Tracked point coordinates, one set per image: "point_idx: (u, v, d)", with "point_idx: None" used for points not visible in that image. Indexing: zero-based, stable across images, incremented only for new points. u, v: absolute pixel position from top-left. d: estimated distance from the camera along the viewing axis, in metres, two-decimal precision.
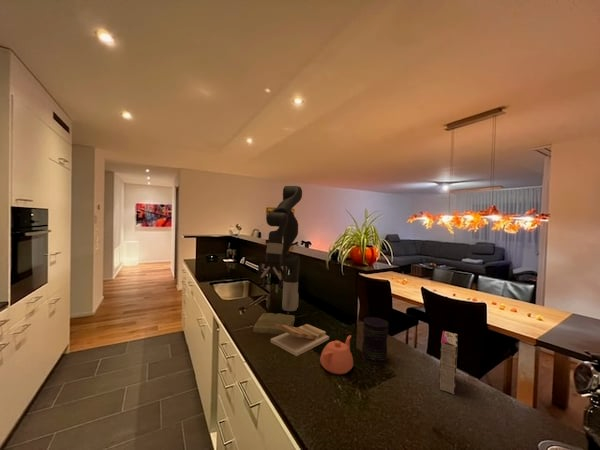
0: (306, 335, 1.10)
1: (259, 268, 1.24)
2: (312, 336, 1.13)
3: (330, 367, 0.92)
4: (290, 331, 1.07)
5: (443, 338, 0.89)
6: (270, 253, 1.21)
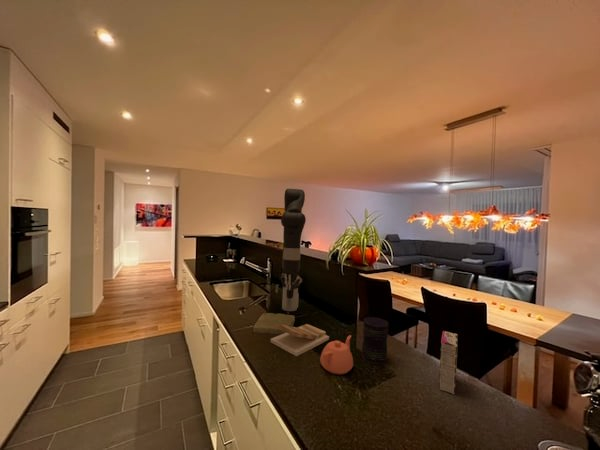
0: (306, 335, 1.10)
1: (281, 279, 1.13)
2: (312, 336, 1.13)
3: (330, 367, 0.92)
4: (290, 331, 1.07)
5: (443, 338, 0.89)
6: (284, 259, 1.09)
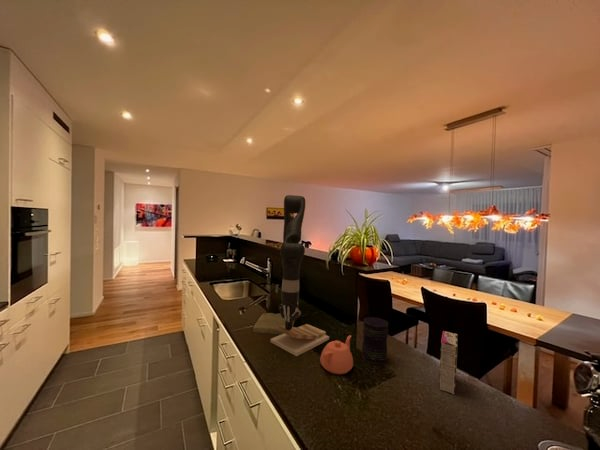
0: (306, 336, 1.10)
1: (280, 310, 1.12)
2: (312, 336, 1.13)
3: (330, 367, 0.92)
4: (290, 333, 1.07)
5: (443, 338, 0.89)
6: (283, 291, 1.08)
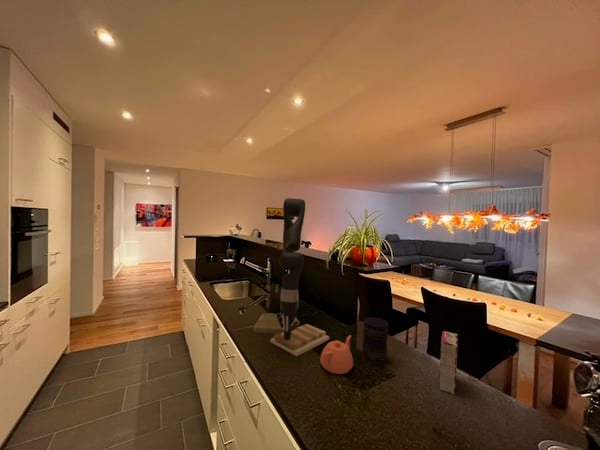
0: (305, 341, 1.10)
1: (278, 319, 1.12)
2: (312, 338, 1.13)
3: (330, 367, 0.92)
4: (288, 344, 1.06)
5: (443, 338, 0.89)
6: (282, 301, 1.07)
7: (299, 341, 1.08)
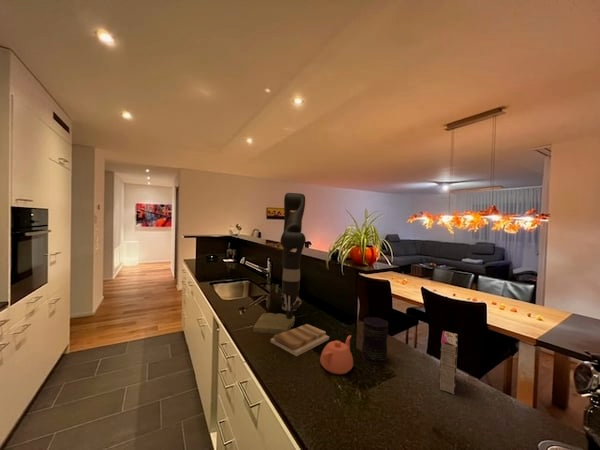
0: (305, 341, 1.10)
1: (280, 299, 1.12)
2: (312, 338, 1.13)
3: (330, 367, 0.92)
4: (288, 344, 1.06)
5: (443, 338, 0.89)
6: (284, 280, 1.08)
7: (299, 341, 1.08)
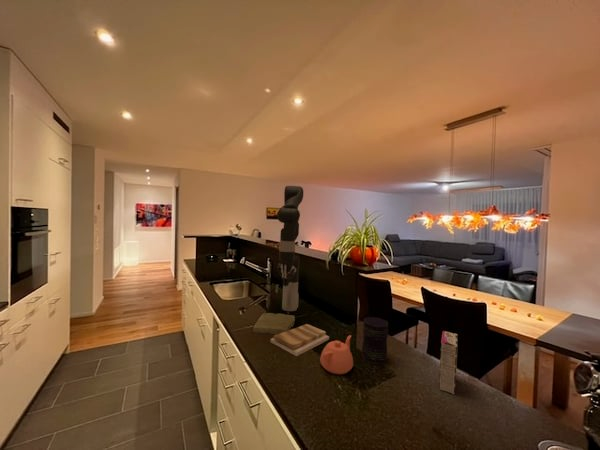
0: (305, 341, 1.10)
1: (278, 269, 1.25)
2: (312, 338, 1.13)
3: (330, 367, 0.92)
4: (288, 344, 1.06)
5: (443, 338, 0.89)
6: (280, 251, 1.20)
7: (299, 341, 1.08)
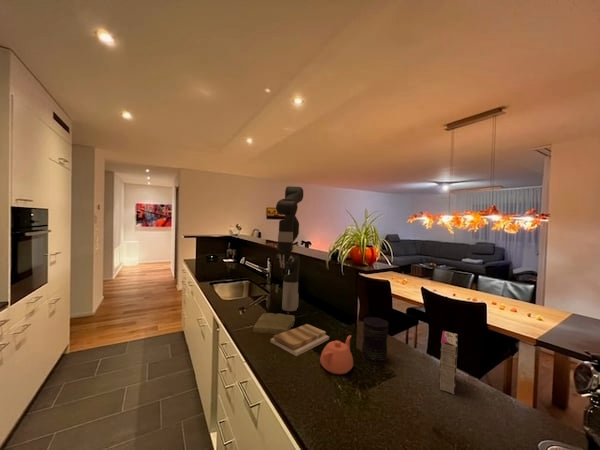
0: (305, 341, 1.10)
1: (276, 259, 1.30)
2: (312, 338, 1.13)
3: (330, 367, 0.92)
4: (288, 344, 1.06)
5: (443, 338, 0.89)
6: (279, 241, 1.25)
7: (299, 341, 1.08)
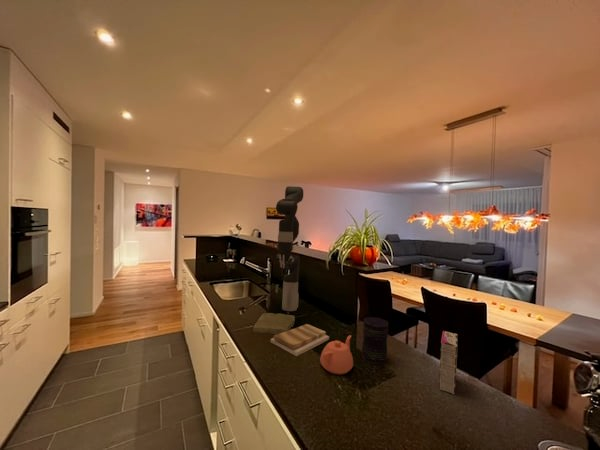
0: (305, 341, 1.10)
1: (276, 259, 1.30)
2: (312, 338, 1.13)
3: (330, 367, 0.92)
4: (288, 344, 1.06)
5: (443, 338, 0.89)
6: (279, 241, 1.25)
7: (299, 341, 1.08)
